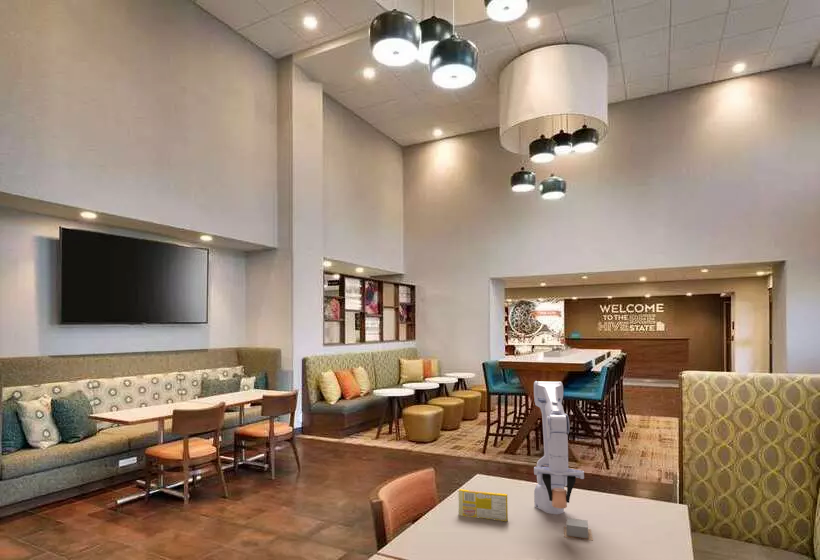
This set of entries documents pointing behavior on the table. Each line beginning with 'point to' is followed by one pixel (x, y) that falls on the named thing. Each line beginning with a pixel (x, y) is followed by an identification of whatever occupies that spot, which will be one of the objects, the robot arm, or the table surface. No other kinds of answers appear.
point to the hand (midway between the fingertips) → (559, 500)
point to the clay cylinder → (559, 498)
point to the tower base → (579, 537)
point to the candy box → (483, 504)
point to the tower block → (577, 528)
